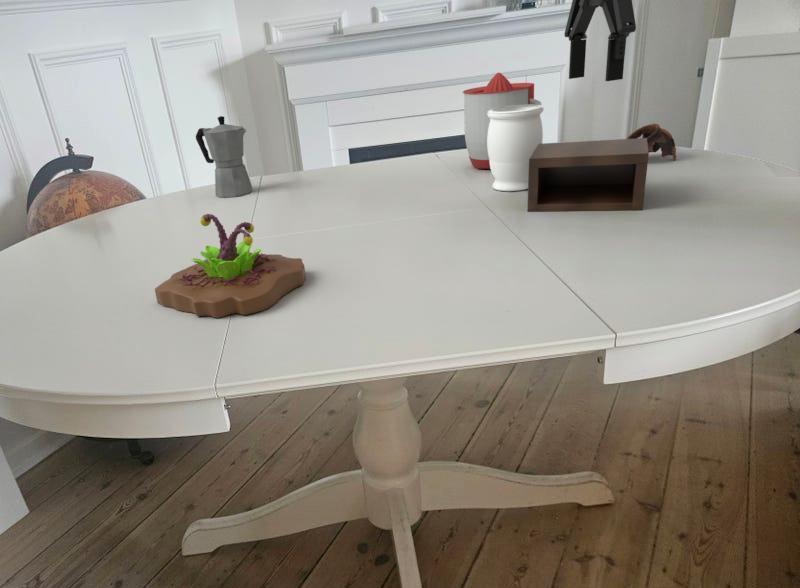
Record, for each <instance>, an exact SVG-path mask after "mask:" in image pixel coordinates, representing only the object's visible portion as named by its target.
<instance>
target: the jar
mask: <svg viewBox="0 0 800 588" xmlns="http://www.w3.org/2000/svg"><path fill="white" fill-rule="evenodd" d="M487 112H488V113H487V115H488V117H489V118H490V123H489V128H488V135H487V149H488V156H489V162H490V168H489V169H490V172H491V174H492V177H493V179H494V182H493V183H492V185H491V187H492V189H493V190H495V191H498V192H499V191H500V192H518V191H524V190H528V178H529V158H530V157H531V155H532V154H533V152H534V150H535V149H536V147H537V146H538V144H543V139H544V133H543V131H544V130H543V122H542V118H541V114H542V113H543V112H544V105H543V104H542V105H534V104H527V105H513V106H505V107H500V108H495V109H492V110H489V111H487Z"/></svg>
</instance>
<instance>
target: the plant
mask: <svg viewBox="0 0 800 588" xmlns="http://www.w3.org/2000/svg"><path fill="white" fill-rule="evenodd" d="M211 222H213V223H214V225H215V227H216V230H217V232H218V238H219V244H220V246H219V248H218V247H217V246H213V245H212V246H211V245H205V246H204V251H199V255H201V256H202V257H204V258H205V259H204V260H202V259H200V258H190V260H191V261H192V262H194V264H192V265H190V266H188V267H186V268H184V269H182V270H179V271H177V272H175V273H173V274H171V276H170V278H168V279H166V280H164V281H163V282H162V283H160V284H159V285H158V286H157V287H155V288H154V293H155V297H156V302H157V304H160V305H161V306H162V307H166V308H172V309H175V310H177V311H180V312H185V313H192V314H195V315H196V317H205V316H206V317H212V318H214V319H219V318H223V317H227V316H231V315H234V314H239V315H242V316H247V315H251V314H255V313H259V312H262V311H264V310H267V309H269V308H271V307H273V306H274V305H275V304H276V303H277V302H278V301H279V300H280V299H281V298H282V297H283V296H284V295H286V294H288V293H290V292H291V291H292V290H294V289H297V288H299V287H301V286H302V285H303V284H304V283H305V280H306V277H307V275H306V268H305V264H304V263H303V258H301V257H298V258H297V257H295V258H294V257H287V256H284V255H282V254H265V253H262V248H257V249H256V250H254V251H253V252H250V251H251V250H250V249H251V247H252V246H253V245H252V244H253V242H254V239H253V237H252V235H251V233H253V232H254V230H255V226H254V224H252V223H250V222H246V221H244V222H241V223H239V224H237V225H236V227H235V228H234V230H233V231H231V233H230V234H229V236H228V235H227V233H226V230H225V228H224V226H223V224H222V223H221V222H220V220H219V219H218V217H217V216H216V215H214V214H212V213H206V214H203V215H202V216H201V217H200V225H201V226H203V227H207V226H209V225H210V224H211ZM243 228H244V229H243ZM240 234H243V241H241V242H239V244H238V245H237V238H238V235H240Z"/></svg>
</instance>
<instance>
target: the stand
mask: <svg viewBox="0 0 800 588" xmlns="http://www.w3.org/2000/svg"><path fill="white" fill-rule="evenodd" d="M649 156H650V152H649V151H648V144H647V138H642V137H639V138H637V139H626V138H620V139H619V138H618V139H603V140H601V139H600V140H581V141H565V142H547V143H542V144H538V146H537V147H536V149H535V150H534V152H533V154H532V155H531V157H530V158H529V178H528V189H527V212H528V213H529V212H531V213H532V212H591V211H592V212H597V211H601V212H602V211H604V212H605V211H643V210H644V200H645V190H646V182H647V174H648V164H649Z"/></svg>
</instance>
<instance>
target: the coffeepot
mask: <svg viewBox="0 0 800 588" xmlns="http://www.w3.org/2000/svg"><path fill="white" fill-rule="evenodd" d="M217 121H218V124H219V125H216V126H214V127H206V128H205V127H200V128H198V130H197V132H196V134H195V140H196V143H197V144H198V146H199V149H200V151H201V153H202V155H203V157H204V159H205V162H206V163H207V164H215V169H214V182H215V183H214V184H215V188H214V189H215V197H217V198H223V199H227V198H235V197H241V196H246V195H248V194H250V193H252V191H253V190H254V188H253V185H252V183H251V180H250V176H249V174H248V170H247V167H246V165H245V163H244V161H243V157H244V155H245V154H244V153H245V151H244V135H245V133H247V128H245V127H243V126H241V125H234V124H227V123H225V116H223V115H219V116H218V117H217ZM203 137H204V138H203ZM204 139H205V141H206V144H205V141H204ZM206 145H207V147H208V149H207V147H206ZM208 150H209V151H208ZM209 153H210V155H209ZM210 156H211V157H210Z"/></svg>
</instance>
